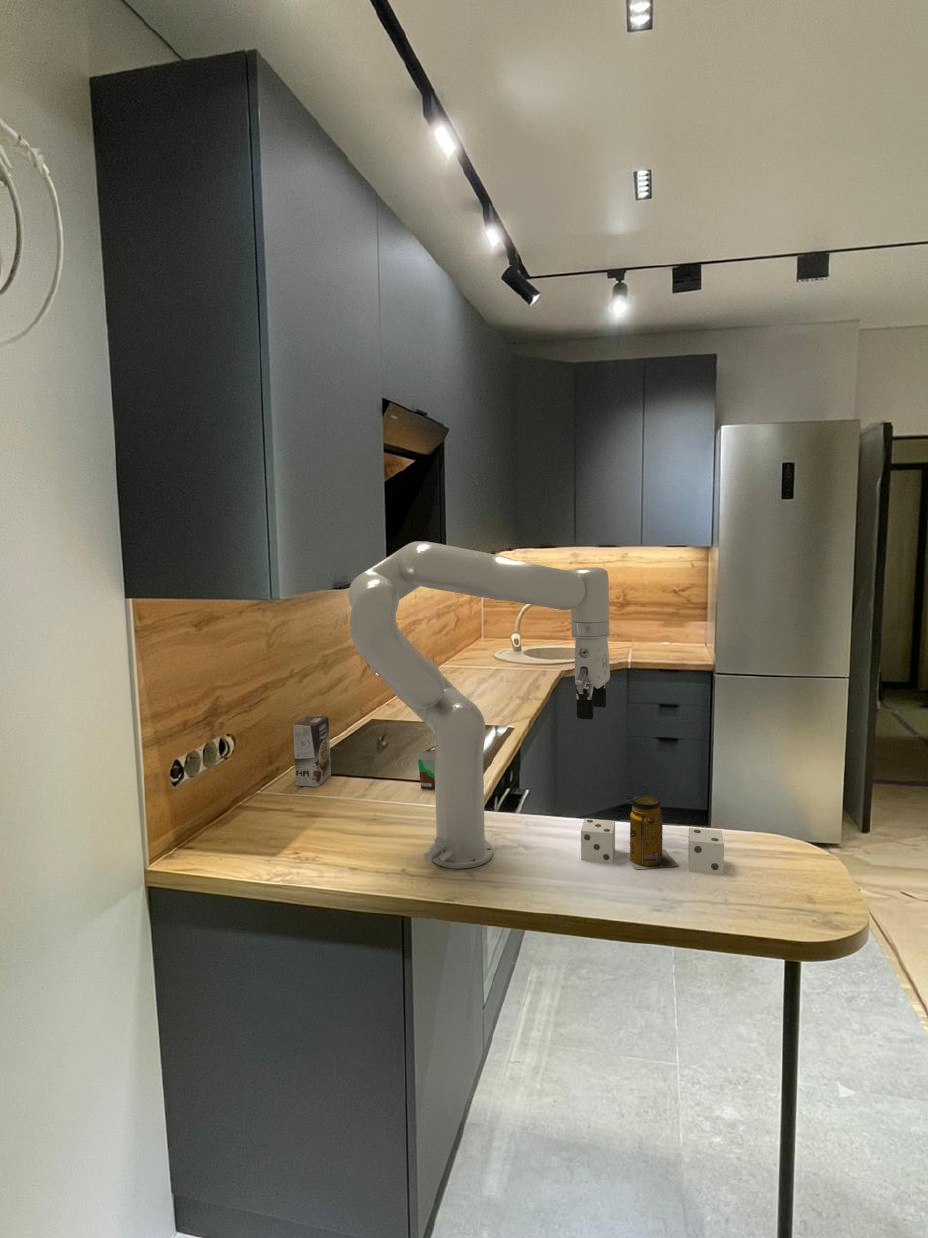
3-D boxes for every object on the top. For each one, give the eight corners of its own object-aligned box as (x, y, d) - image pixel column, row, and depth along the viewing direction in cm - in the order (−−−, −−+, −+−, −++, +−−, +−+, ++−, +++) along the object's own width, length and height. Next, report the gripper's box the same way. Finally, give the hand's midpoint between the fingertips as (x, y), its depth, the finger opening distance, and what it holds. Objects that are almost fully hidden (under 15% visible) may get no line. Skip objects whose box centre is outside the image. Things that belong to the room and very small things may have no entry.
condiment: (623, 853, 142) (623, 794, 140) (665, 850, 143) (665, 792, 141) (635, 870, 135) (635, 809, 133) (679, 867, 135) (680, 806, 134)
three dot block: (612, 863, 138) (612, 833, 137) (581, 860, 139) (580, 830, 139) (615, 849, 144) (615, 820, 143) (584, 847, 145) (584, 818, 144)
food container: (436, 795, 175) (435, 755, 174) (417, 790, 179) (415, 751, 178) (466, 780, 185) (465, 742, 184) (448, 776, 189) (447, 738, 187)
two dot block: (723, 875, 132) (724, 843, 131) (689, 871, 134) (689, 840, 133) (721, 860, 138) (721, 830, 137) (688, 857, 140) (688, 827, 139)
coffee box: (318, 787, 182) (315, 725, 180) (295, 786, 184) (291, 724, 182) (332, 775, 191) (329, 715, 189) (309, 774, 193) (306, 715, 191)
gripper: (597, 636, 135) (599, 725, 138) (619, 623, 151) (620, 703, 153) (558, 635, 139) (561, 722, 141) (584, 623, 154) (585, 701, 156)
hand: (592, 712), depth 147 cm, fingers open, 9 cm apart
